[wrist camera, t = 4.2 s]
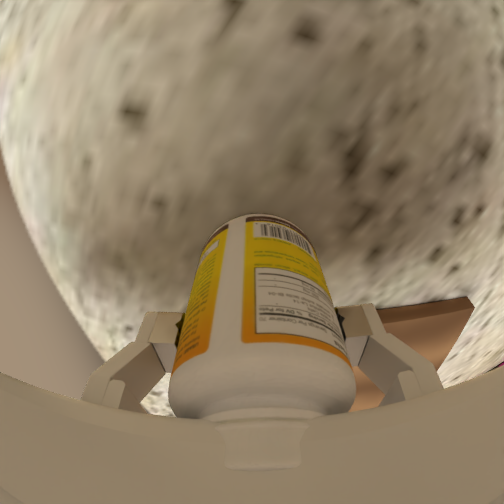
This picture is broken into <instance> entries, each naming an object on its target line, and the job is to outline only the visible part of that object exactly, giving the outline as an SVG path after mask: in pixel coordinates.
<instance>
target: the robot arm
mask: <svg viewBox="0 0 504 504" xmlns="http://www.w3.org/2000/svg"><path fill="white" fill-rule="evenodd" d="M334 309H335V312H336V315H337V318H338V322H339V325H340V328H341V332H342V335H343V338H344V342H345V345H346V348H347V352H348V355H349V359H350V362H351V366H352V367H355V366H358V368H359V369H360V370H361V371H362V372H363V373H364V374H365V375H366V376H367V377H368V378H369V379H370V380H371V381H372V382H373V383H374V384H375V385H376V386H377V387H378V388H379V389H380V390H381V391H382V392H383V393H384V394H385V397H384V398H383V400H382V401H381V403H380V404H379V406H378V407H375V408H370V409H364V410H359V411H353V412H347V413H340V414H333V415H326V416H318V417H315V418H312V419H309V420H306V421H305V422H306V423H307V424H309V425H310V426H309V427H308V428H307V429H306V430H305V432H304V434H303V436H302V438H301V440H300V442H299V443H300V452H301V461H302V463H301V464H300V465H299V466H297V467H295V468H290V469H282V470H268V471H244V470H232V469H229V468H227V467H226V466H225V463H224V459H225V449H226V443H225V441H224V439H223V437H222V436H221V435H220V433H219V432H218V431H217V430H216V429H215V427H217V426H218V425H220V424H221V423H217V422H212V421H210V420H204V419H190V418H178V417H169V416H160V415H153V414H147V412H146V411H145V410H144V408H143V407H142V406H141V404H140V402H141V401H142V400H143V398H144V397H145V396H146V395H147V394H148V393H149V392H150V391H151V390H152V388H153V387H154V386H155V385H156V384H157V383H158V382H159V381H160V379H161V378H162V377H163V376H164V375H165V374H166V373H165V372H167V373H172V369H173V365H174V360H175V356H176V352H177V347H178V343H179V339H180V335H181V330H182V326H183V322H184V318H185V313H179V312H150V311H148V312H147V313H146V314H145V317H144V319H143V322H142V324H141V327H140V329H139V332H138V335H137V337H136V340H135V342H131V343H129V344H128V345H127V346H125V347H124V348H123V349H122V350H120V351H119V352H118V353H117V354H115V355H114V356H113V357H112V358H110V359H109V360H108V361H107V362H105V363H104V364H103V365H102V366H100V367H99V368H98V369H97V370H95V371H94V372H93V373H92V374H91V375H90V377H89V379H88V382H87V384H86V387H85V389H84V392H83V394H82V397H81V399H80V400H78V399H74V398H71V397H67V396H64V395H61V394H57V393H54V392H51V391H48V390H45V389H42V388H39V387H36V386H33V385H31V384H28V383H26V382H23V381H20V380H18V379H15V378H13V377H11V376H8V375H6V374H4V373H1V372H0V504H504V365H503V366H500V367H498V368H496V369H494V370H492V371H489V372H487V373H485V374H482V375H480V376H478V377H475V378H473V379H470V380H467V381H465V382H462V383H460V384H457V385H454V386H451V387H448V388H445V389H444V388H443V386H442V383H441V381H440V378H439V376H438V374H437V372H436V369H435V367H434V365H433V363H431V362H430V361H429V360H427V359H426V358H424V357H423V356H422V355H420V354H419V353H417V352H416V351H415V350H413V349H412V348H410V347H409V346H408V345H406V344H405V343H403V342H402V341H401V340H399V339H398V338H396V337H395V336H394V335H392V334H391V333H386V331H385V329H384V326H383V324H382V322H381V320H380V317H379V315H378V313H377V311H376V309H375V307H374V305H373V304H372V303H370V304H361V305H351V306H341V307H335V308H334Z"/></svg>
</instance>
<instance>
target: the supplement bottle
mask: <svg viewBox="0 0 504 504" xmlns="http://www.w3.org/2000/svg"><path fill="white" fill-rule="evenodd" d="M355 396H356V383H355V378H354V373H353V369H352V366H351V362H350V359H349V355H348V352H347V348H346V345H345V342H344V338H343V335H342V332H341V328H340V325H339V322H338V318H337V315H336V312H335V309H334V306H333V303H332V300H331V296H330V293H329V290H328V288H327V285H326V282H325V279H324V276H323V273H322V270H321V267H320V264H319V261H318V258H317V255H316V252H315V250H314V248H313V246H312V244H311V242H310V240H309V238H308V237H307V236H306V234H305V233H304V232H303V231H302V230H301V229H300V228H298V227H297V226H296V225H294V224H293V223H291V222H290V221H288V220H285V219H283V218H281V217H277V216H274V215H268V214H250V215H244V216H240V217H237V218H235V219H232V220H230V221H228V222H226V223H225V224H223V225H222V226H220V227H219V228H218V229H217V230H216V231H215V232H214V233H213V234H212V235H211V236H210V238H209V239H208V240H207V242H206V244H205V246H204V248H203V250H202V254H201V257H200V261H199V264H198V267H197V271H196V275H195V279H194V283H193V286H192V290H191V294H190V298H189V302H188V306H187V310H186V314H185V318H184V322H183V326H182V330H181V335H180V339H179V343H178V347H177V352H176V356H175V360H174V365H173V369H172V373H171V378H170V382H169V390H168V399H169V403H170V406H171V409H172V411H173V412H174V414H175V415H176V417H178V418H190V419H204V420H210V421H212V422H217V423H221V424H220V425H218V426H217V427H215V429H216V430H217V431H218V432H219V433H220V435H221V436H222V437H223V439H224V441H225V443H226V449H225V459H224V463H225V466H226V467H227V468H229V469H232V470H244V471H268V470H282V469H290V468H295V467H297V466H299V465H300V464H301V463H302V461H301V452H300V443H299V442H300V440H301V438H302V436H303V434H304V432H305V430H306V429H307V428H308V427H309V426H310V425H309V424H307V423H306V422H305V421H306V420H309V419H312V418H315V417H318V416H326V415H333V414H340V413H347V412H349V410H350V409H351V407H352V405H353V403H354V400H355Z"/></svg>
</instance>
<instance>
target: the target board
mask: <svg viewBox="0 0 504 504" xmlns="http://www.w3.org/2000/svg"><path fill="white" fill-rule="evenodd" d="M474 308H475V307H474V306H473V304H472V303H471V301H470V300H469V299H468V297H463V298H457V299H451V300H445V301H439V302H433V303H426V304H419V305H412V306H405V307H397V308H389V309H381V310H376V311H377V313H378V315H379V317H380V320H381V322H382V324H383V326H384V329H385V331H386V333H391V334H392V335H394V336H395V337H396V338H398V339H399V340H401V341H402V342H403V343H405V344H406V345H408V346H409V347H410V348H412V349H413V350H415V351H416V352H417V353H419V354H420V355H422V356H423V357H424V358H426V359H427V360H429V361H430V362H431V363H433V365H434V367H435V369H436V372H437V370H438V369H439V367H440V366H441V364H442V363H443V361H444V360H445V358H446V357H447V355H448V354H449V352H450V350H451V349H452V347H453V346H454V344H455V342H456V341H457V339H458V337H459V336H460V334H461V332H462V330H463V329H464V327H465V325H466V323H467V321H468V320H469V318H470V316H471V314H472V312H473V310H474ZM352 369H353V373H354V378H355V383H356V396H355V400H354V403H353V405H352V407H351V409H350V410H349V412H353V411H359V410H364V409H370V408H375V407H378V406H379V404H380V403H381V401H382V400H383V398H384V397H385V394H384V393H383V392H382V391H381V390H380V389H379V388H378V387H377V386H376V385H375V384H374V383H373V382H372V381H371V380H370V379H369V378H368V377H367V376H366V375H365V374H364V373H363V372H362V371H361V370H360V369H359V368H358V366H355V367H352Z"/></svg>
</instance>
